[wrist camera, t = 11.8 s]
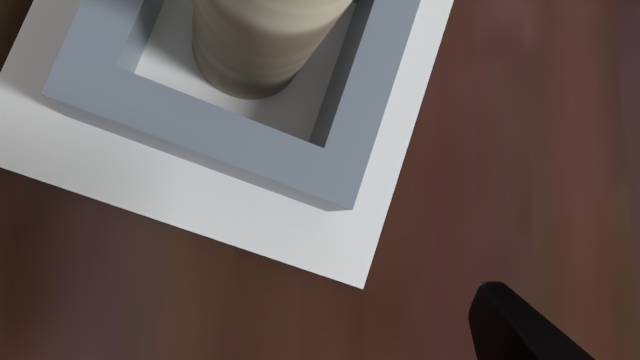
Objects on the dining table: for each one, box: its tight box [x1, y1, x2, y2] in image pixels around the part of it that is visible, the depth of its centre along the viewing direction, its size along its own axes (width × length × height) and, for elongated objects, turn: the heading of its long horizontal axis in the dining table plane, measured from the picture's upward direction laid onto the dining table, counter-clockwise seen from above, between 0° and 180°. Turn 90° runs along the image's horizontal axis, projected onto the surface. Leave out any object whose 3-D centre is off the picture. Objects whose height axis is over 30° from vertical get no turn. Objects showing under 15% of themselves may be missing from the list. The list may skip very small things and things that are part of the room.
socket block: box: [0, 0, 454, 289], centre depth 18 cm, size 14×14×4 cm
